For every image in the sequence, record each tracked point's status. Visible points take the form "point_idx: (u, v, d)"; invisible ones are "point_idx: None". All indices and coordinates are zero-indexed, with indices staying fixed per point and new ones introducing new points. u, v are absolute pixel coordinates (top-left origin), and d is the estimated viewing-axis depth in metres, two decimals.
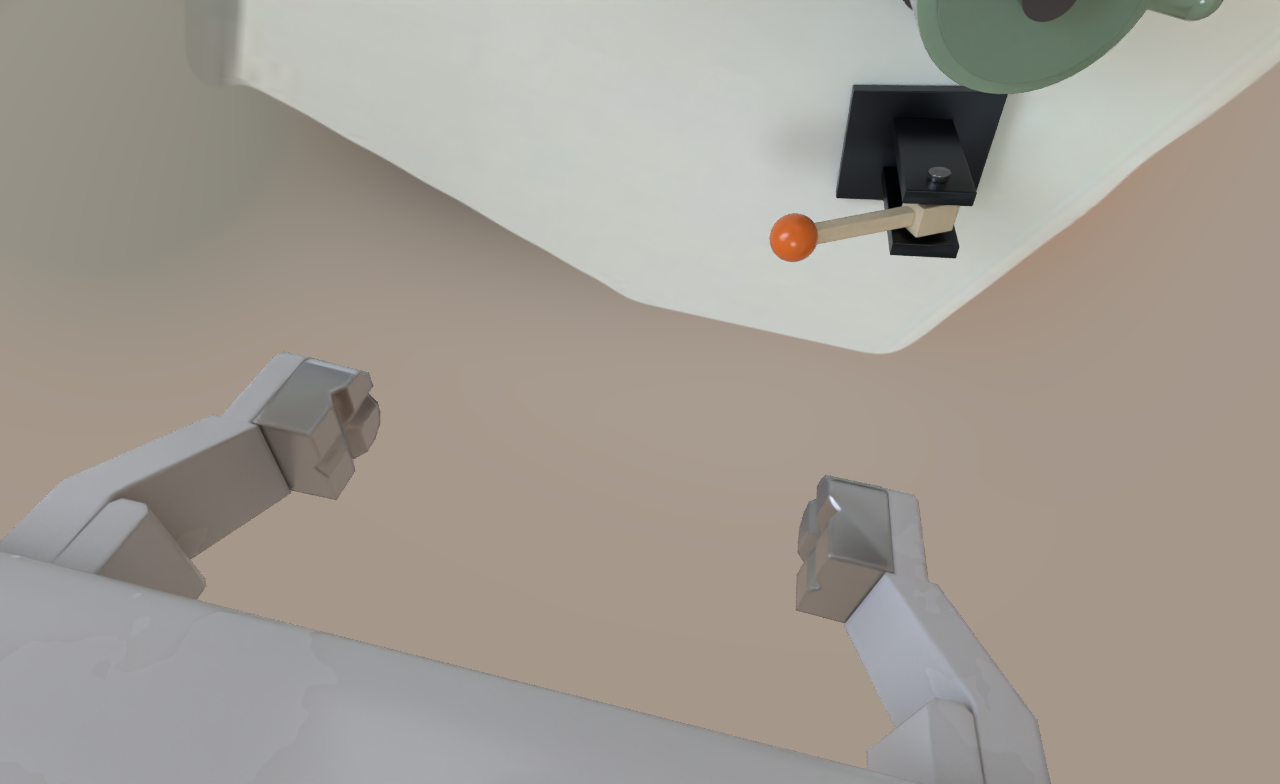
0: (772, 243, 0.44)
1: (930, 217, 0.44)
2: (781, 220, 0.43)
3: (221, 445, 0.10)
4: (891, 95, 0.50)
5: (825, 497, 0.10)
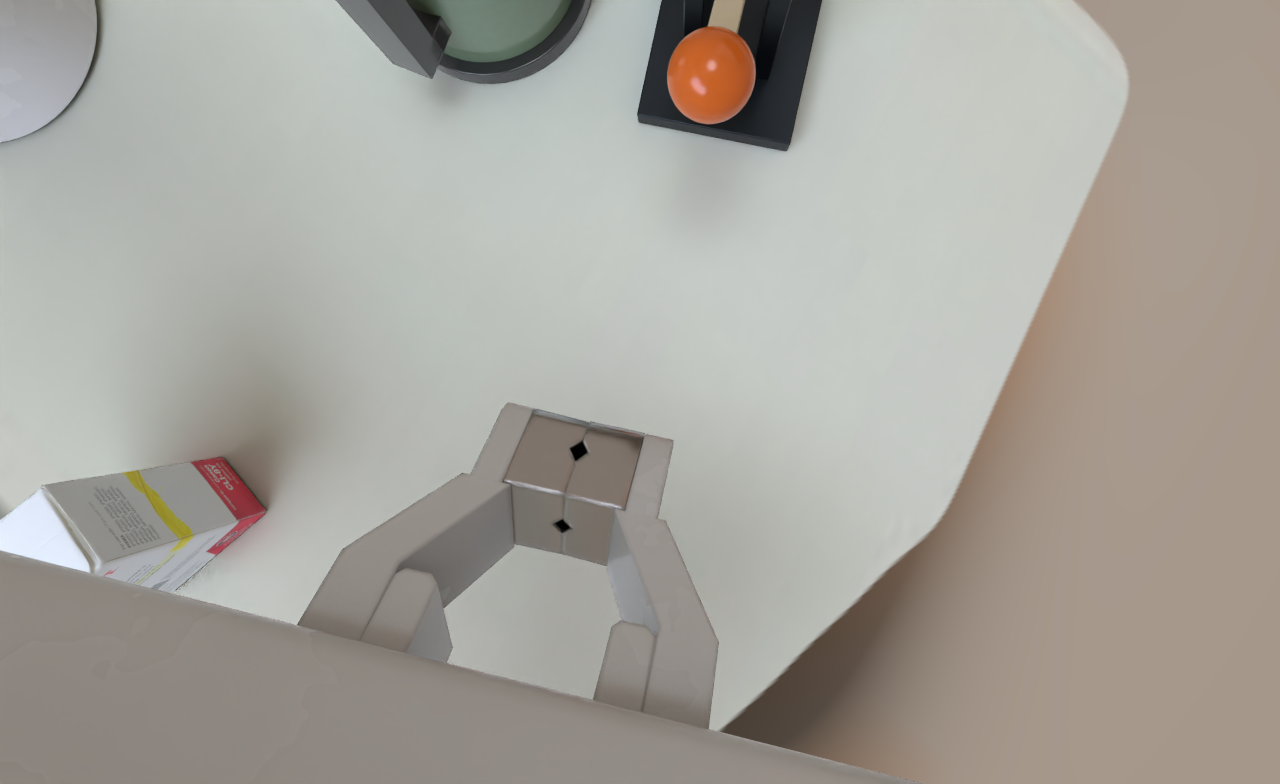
0: (704, 104, 0.23)
1: None
2: (670, 94, 0.24)
3: (481, 506, 0.09)
4: (652, 67, 0.38)
5: (584, 441, 0.11)
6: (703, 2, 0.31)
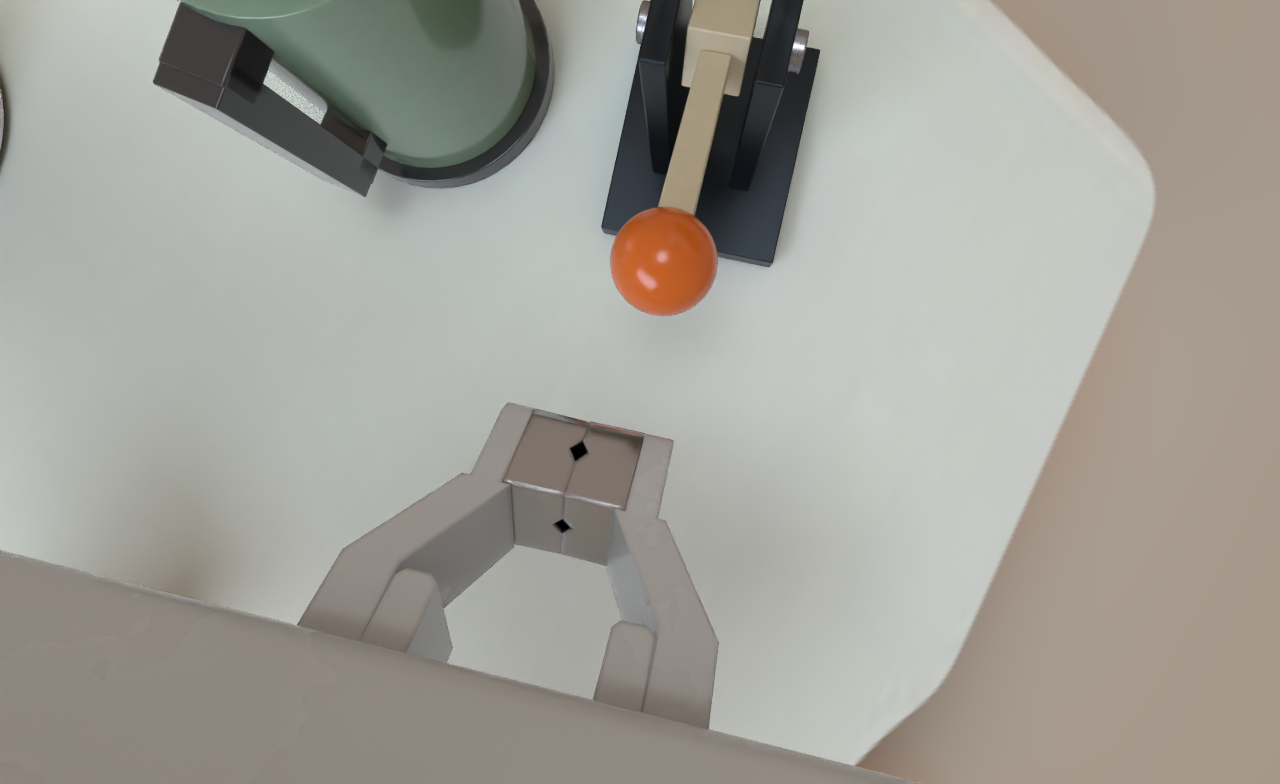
0: (653, 303, 0.19)
1: (712, 16, 0.22)
2: None
3: (481, 506, 0.09)
4: (618, 175, 0.34)
5: (583, 441, 0.11)
6: (668, 125, 0.27)
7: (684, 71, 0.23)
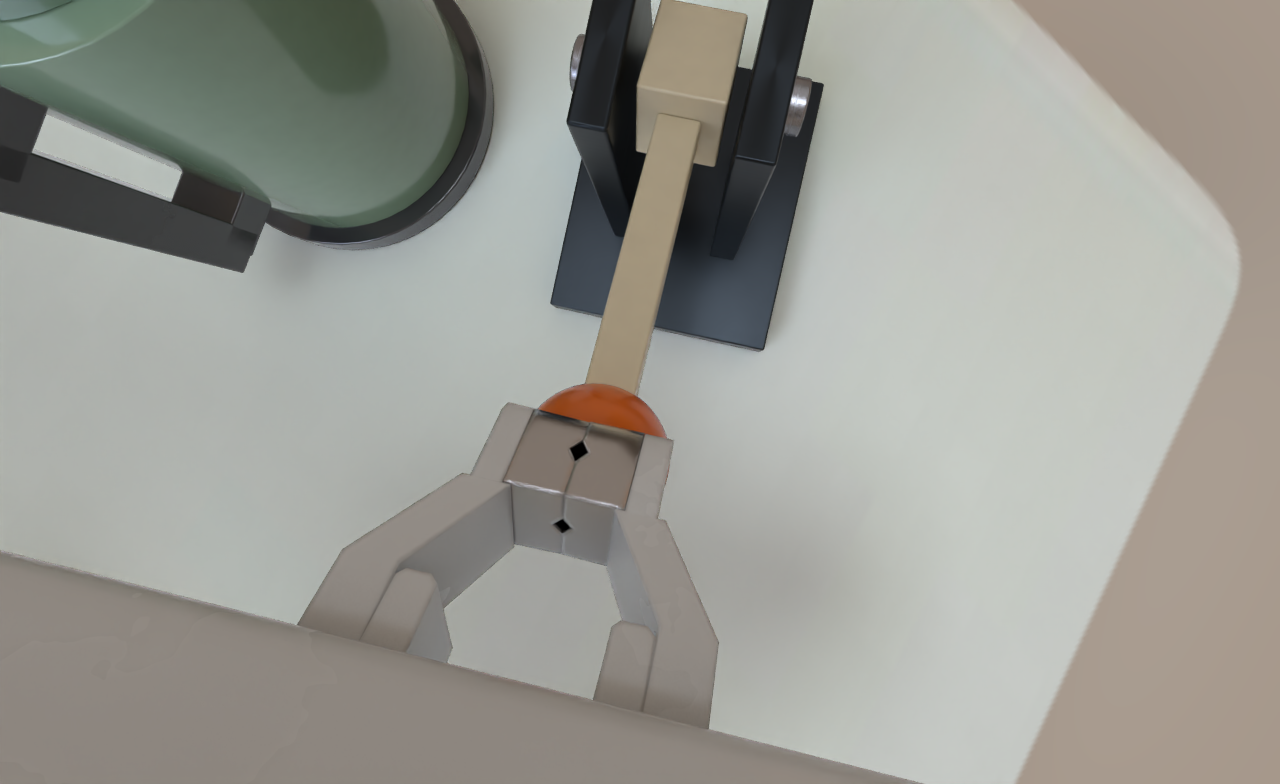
0: None
1: (673, 67, 0.15)
2: None
3: (481, 506, 0.09)
4: (571, 238, 0.27)
5: (584, 441, 0.11)
6: (624, 194, 0.20)
7: (638, 136, 0.17)
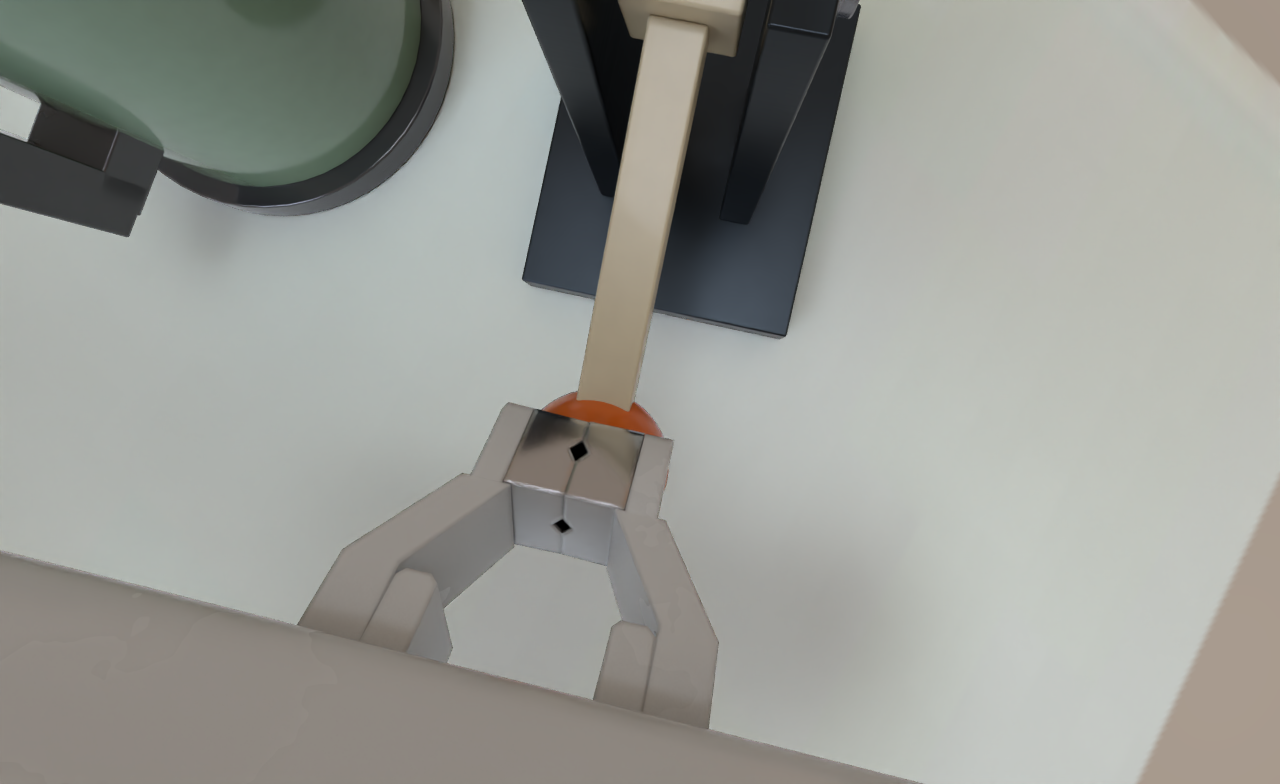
0: None
1: None
2: None
3: (481, 506, 0.09)
4: (547, 199, 0.22)
5: (584, 441, 0.11)
6: (608, 122, 0.15)
7: (629, 27, 0.13)
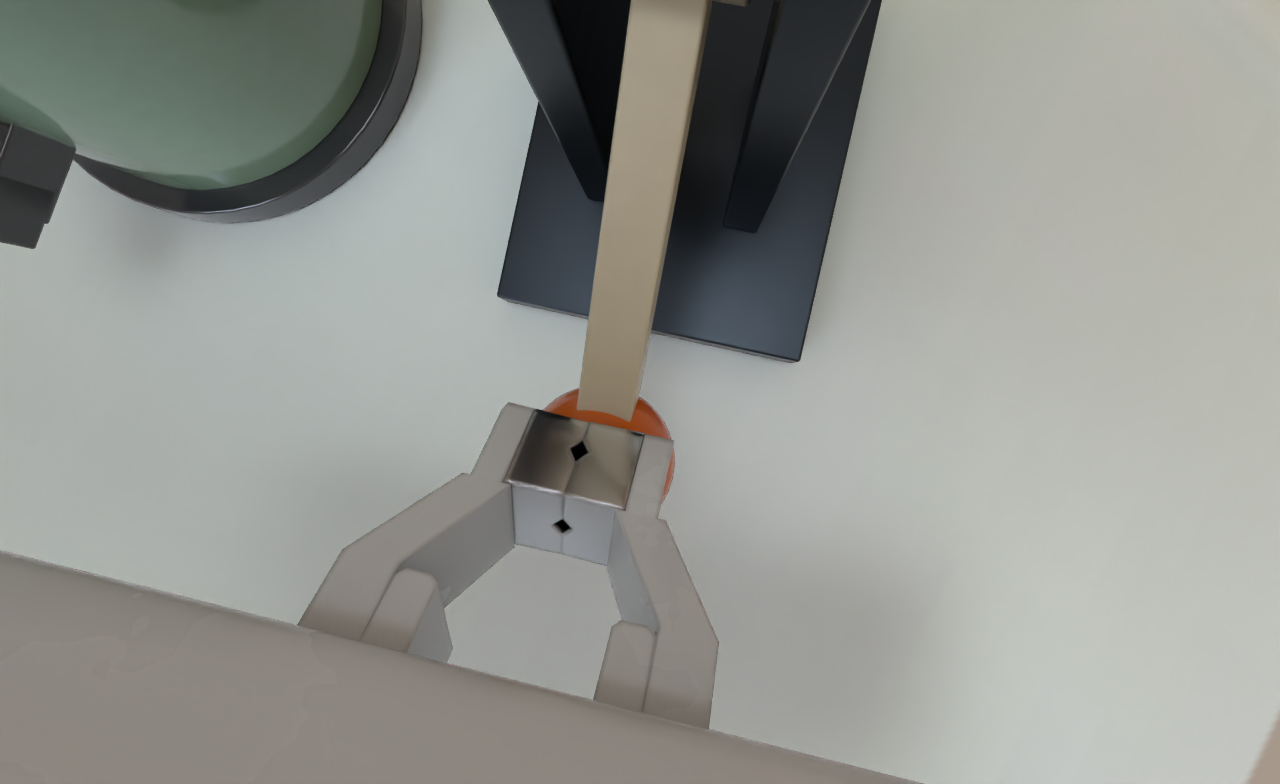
0: None
1: None
2: None
3: (482, 506, 0.09)
4: (526, 203, 0.19)
5: (583, 441, 0.11)
6: (587, 111, 0.12)
7: None
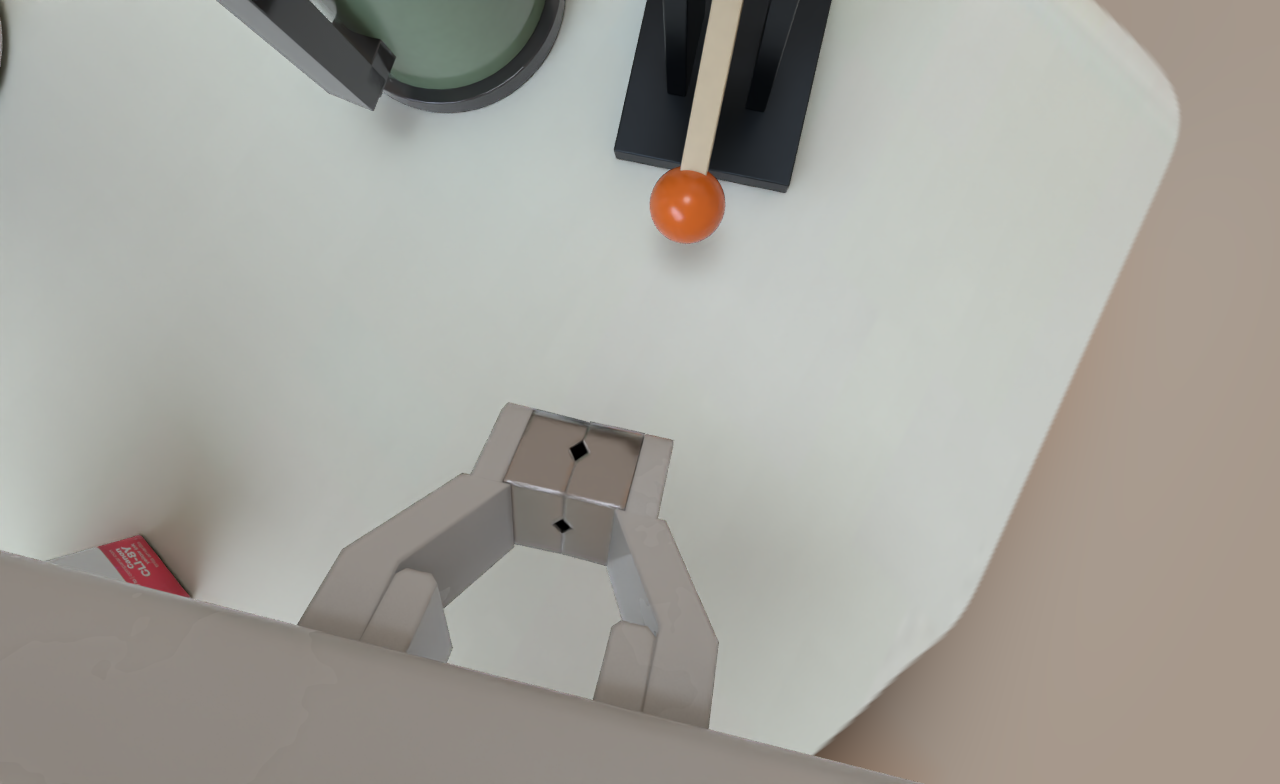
0: None
1: None
2: None
3: (481, 507, 0.09)
4: (631, 96, 0.33)
5: (583, 441, 0.11)
6: (686, 26, 0.26)
7: None
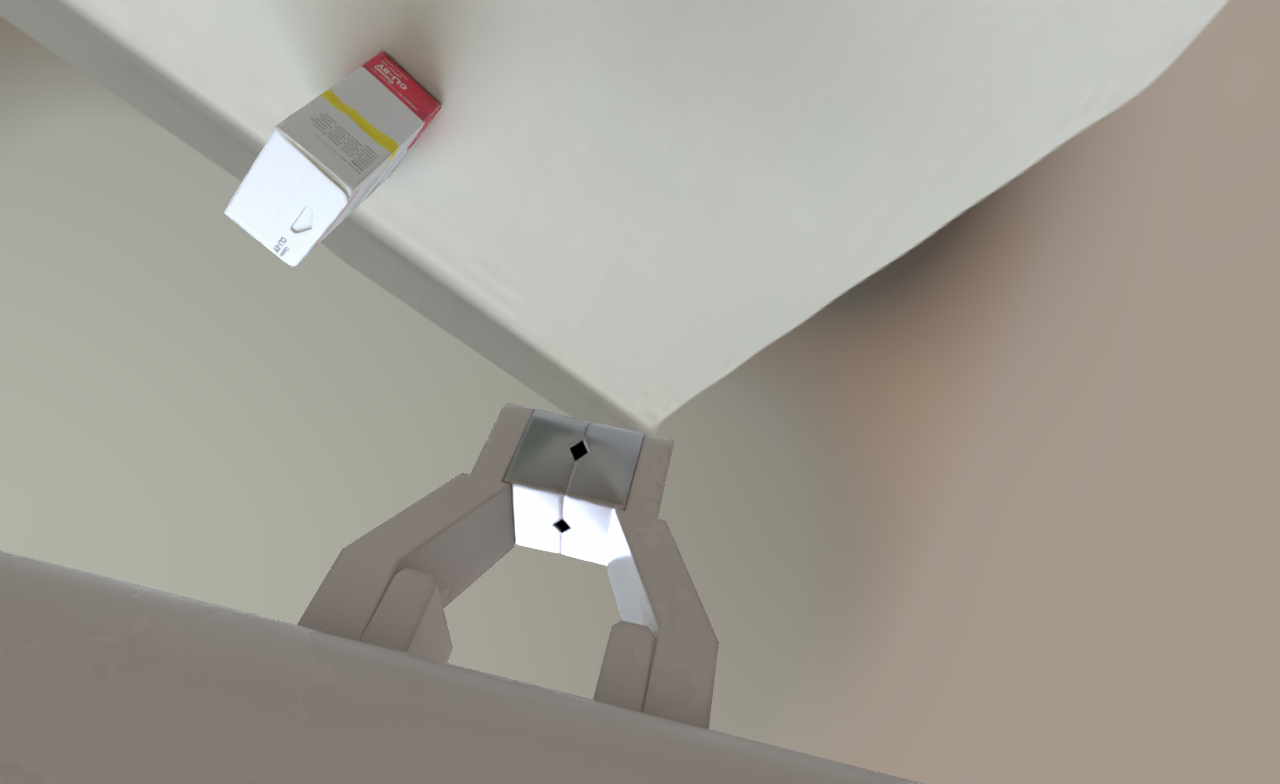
0: None
1: None
2: None
3: (482, 506, 0.09)
4: None
5: (584, 441, 0.11)
6: None
7: None
